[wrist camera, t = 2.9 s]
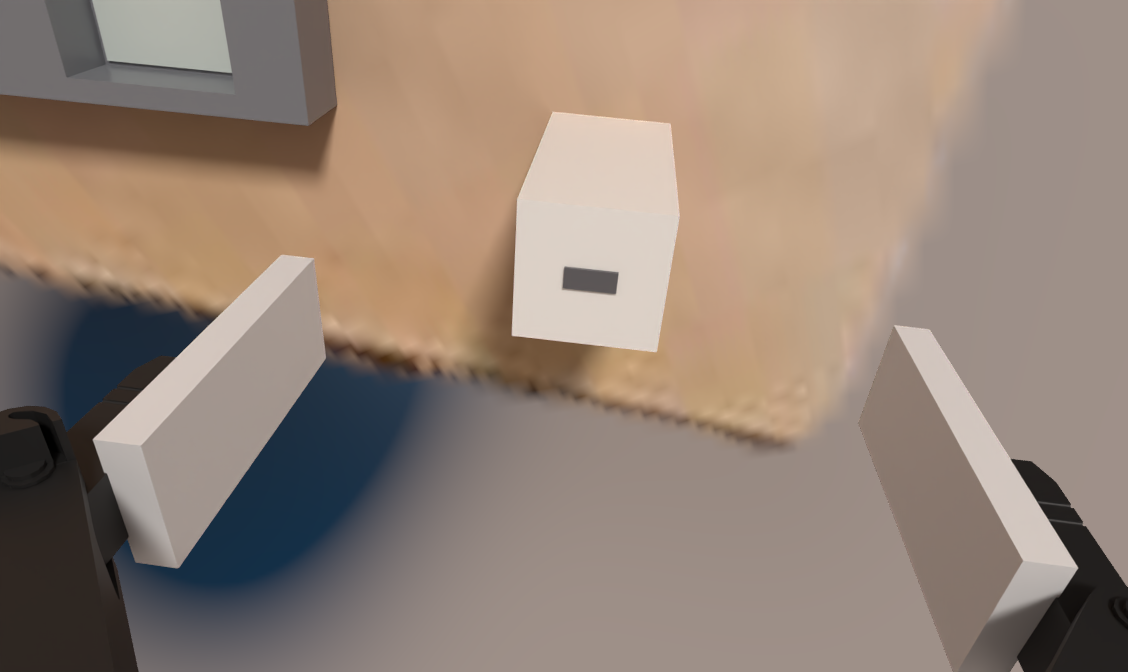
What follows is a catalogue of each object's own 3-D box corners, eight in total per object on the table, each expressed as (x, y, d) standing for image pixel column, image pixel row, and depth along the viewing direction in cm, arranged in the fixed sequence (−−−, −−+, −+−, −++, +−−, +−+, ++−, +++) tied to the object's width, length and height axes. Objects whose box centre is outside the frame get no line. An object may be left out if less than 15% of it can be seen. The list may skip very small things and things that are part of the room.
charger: (545, 221, 27) (511, 337, 20) (552, 111, 25) (517, 200, 18) (654, 232, 27) (656, 353, 20) (670, 123, 24) (679, 217, 18)
